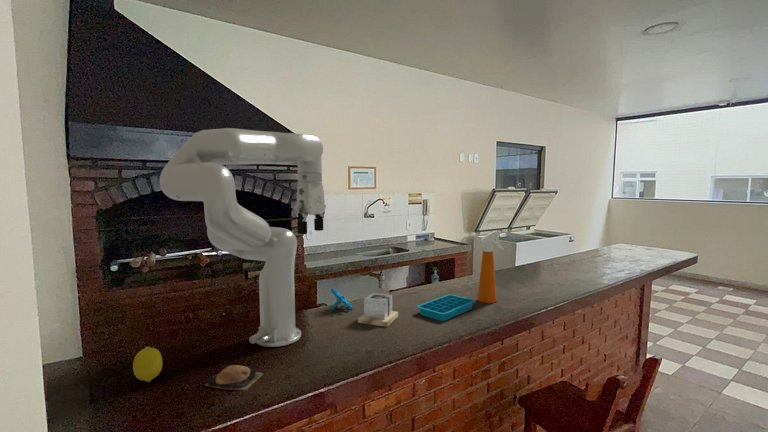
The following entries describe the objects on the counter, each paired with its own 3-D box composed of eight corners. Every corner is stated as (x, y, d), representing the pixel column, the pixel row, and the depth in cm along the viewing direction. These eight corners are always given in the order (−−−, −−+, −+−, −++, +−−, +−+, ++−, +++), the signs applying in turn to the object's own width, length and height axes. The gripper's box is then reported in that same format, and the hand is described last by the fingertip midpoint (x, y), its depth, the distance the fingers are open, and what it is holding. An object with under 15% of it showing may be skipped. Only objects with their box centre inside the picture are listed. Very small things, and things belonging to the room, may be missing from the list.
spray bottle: (508, 301, 140) (510, 231, 138) (485, 304, 136) (486, 232, 134) (496, 295, 146) (497, 229, 144) (473, 299, 142) (474, 230, 140)
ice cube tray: (476, 308, 132) (476, 300, 132) (443, 323, 118) (443, 314, 117) (449, 301, 140) (449, 294, 140) (415, 315, 126) (415, 306, 125)
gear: (354, 308, 126) (333, 288, 126) (342, 322, 126) (320, 301, 125) (353, 303, 137) (334, 284, 137) (342, 315, 137) (322, 296, 136)
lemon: (168, 375, 86) (166, 341, 85) (154, 388, 80) (152, 352, 79) (143, 375, 85) (141, 341, 85) (128, 388, 80) (125, 352, 79)
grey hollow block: (364, 317, 119) (364, 298, 118) (372, 310, 125) (372, 292, 125) (384, 319, 116) (384, 301, 116) (392, 312, 123) (392, 294, 122)
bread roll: (265, 375, 87) (265, 360, 86) (244, 395, 78) (243, 378, 78) (225, 370, 89) (224, 355, 89) (200, 388, 81) (199, 372, 81)
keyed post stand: (357, 322, 118) (357, 301, 118) (370, 312, 127) (370, 292, 127) (387, 326, 114) (387, 304, 114) (398, 316, 124) (398, 295, 123)
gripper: (304, 178, 110) (306, 236, 111) (333, 179, 126) (334, 229, 127) (283, 178, 113) (284, 234, 114) (314, 179, 129) (315, 228, 130)
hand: (310, 232), depth 121 cm, fingers open, 9 cm apart
